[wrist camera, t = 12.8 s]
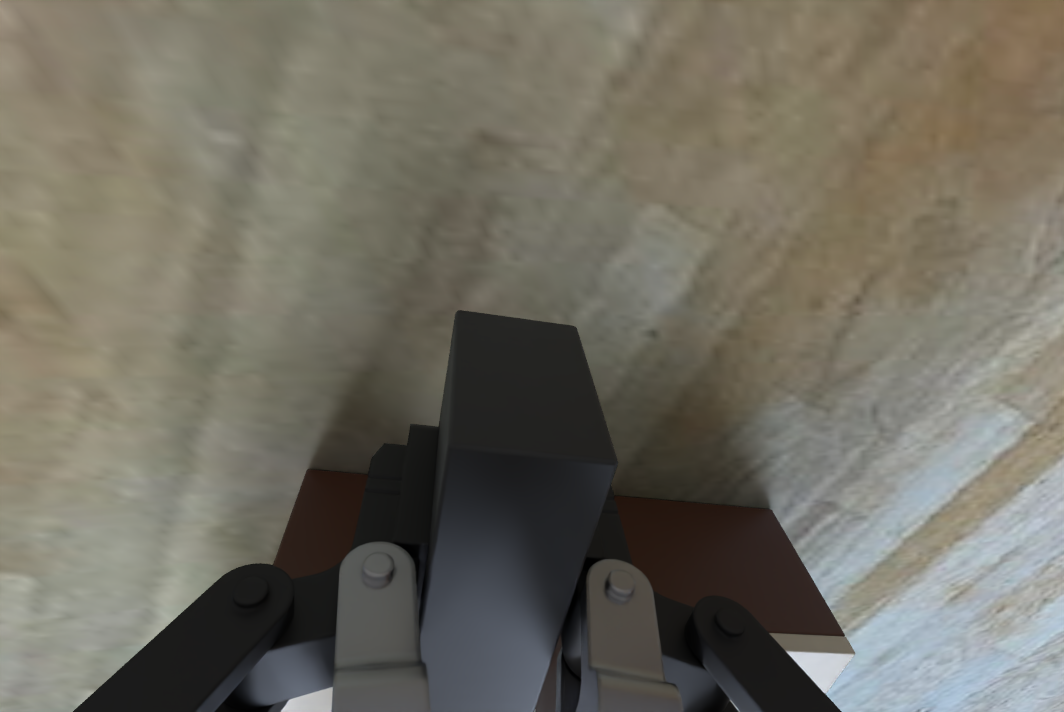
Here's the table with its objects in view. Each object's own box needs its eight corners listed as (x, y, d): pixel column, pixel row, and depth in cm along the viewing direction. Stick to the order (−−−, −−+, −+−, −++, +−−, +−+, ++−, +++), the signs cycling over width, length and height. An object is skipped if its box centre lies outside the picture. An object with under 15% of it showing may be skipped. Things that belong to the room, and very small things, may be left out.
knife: (456, 307, 13) (447, 444, 9) (577, 324, 13) (621, 462, 9) (386, 782, 22) (366, 951, 18) (458, 783, 22) (455, 948, 18)
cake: (597, 493, 22) (635, 644, 17) (771, 508, 23) (856, 653, 18) (533, 687, 28) (547, 842, 23) (675, 691, 29) (719, 839, 24)
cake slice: (306, 468, 20) (249, 627, 15) (455, 481, 21) (449, 637, 16) (303, 680, 26) (261, 847, 21) (420, 684, 27) (407, 846, 22)
